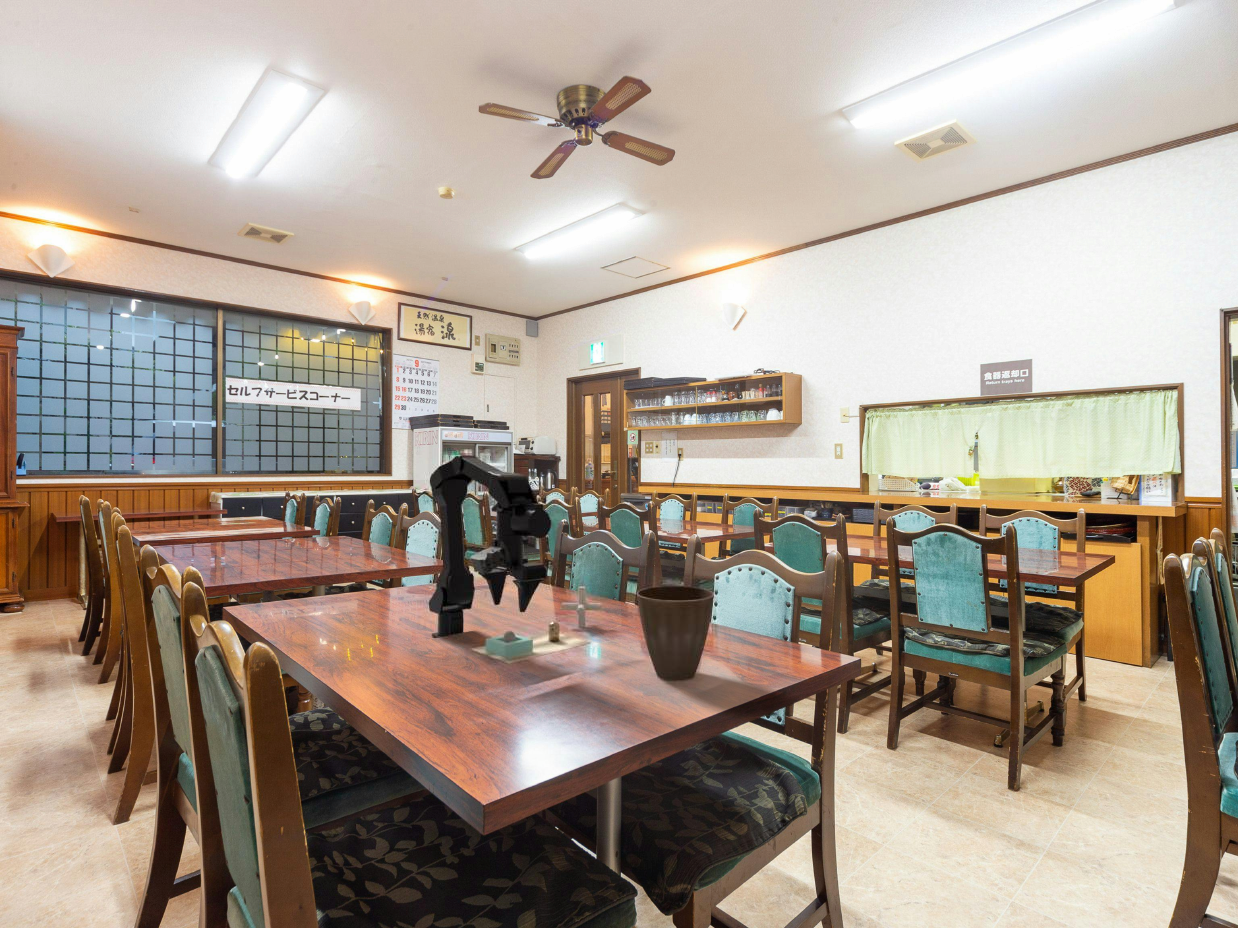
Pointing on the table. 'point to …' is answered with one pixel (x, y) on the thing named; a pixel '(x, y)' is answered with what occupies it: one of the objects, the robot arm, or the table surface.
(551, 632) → the bronze post
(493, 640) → the teal collar
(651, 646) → the plant pot
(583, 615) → the pipe connector
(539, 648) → the birch stand board
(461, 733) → the table surface
